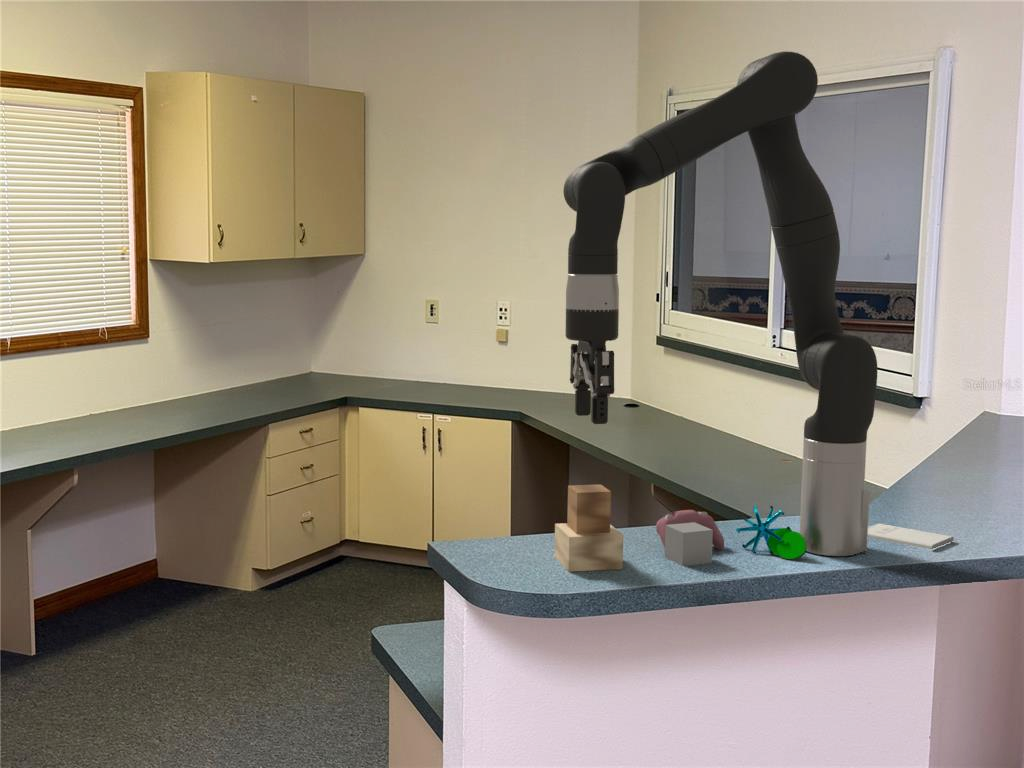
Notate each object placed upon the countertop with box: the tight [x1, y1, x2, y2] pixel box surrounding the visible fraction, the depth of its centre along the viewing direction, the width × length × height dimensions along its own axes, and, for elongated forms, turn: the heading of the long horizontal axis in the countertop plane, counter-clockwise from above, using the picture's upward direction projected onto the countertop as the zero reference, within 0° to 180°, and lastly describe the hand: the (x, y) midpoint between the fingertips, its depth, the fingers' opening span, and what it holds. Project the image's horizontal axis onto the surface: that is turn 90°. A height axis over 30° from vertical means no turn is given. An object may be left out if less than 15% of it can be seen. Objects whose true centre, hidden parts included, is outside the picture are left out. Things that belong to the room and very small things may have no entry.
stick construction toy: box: [735, 504, 807, 561], centre depth 170 cm, size 12×7×8 cm
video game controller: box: [655, 509, 725, 551], centre depth 170 cm, size 10×5×7 cm, turn 112°
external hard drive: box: [868, 522, 955, 549], centre depth 178 cm, size 2×8×12 cm
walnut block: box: [566, 484, 612, 534], centre depth 161 cm, size 5×5×6 cm
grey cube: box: [664, 522, 713, 567], centre depth 164 cm, size 5×5×5 cm
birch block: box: [554, 522, 624, 573], centre depth 161 cm, size 8×8×5 cm
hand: (590, 419), depth 159 cm, fingers open, 8 cm apart
